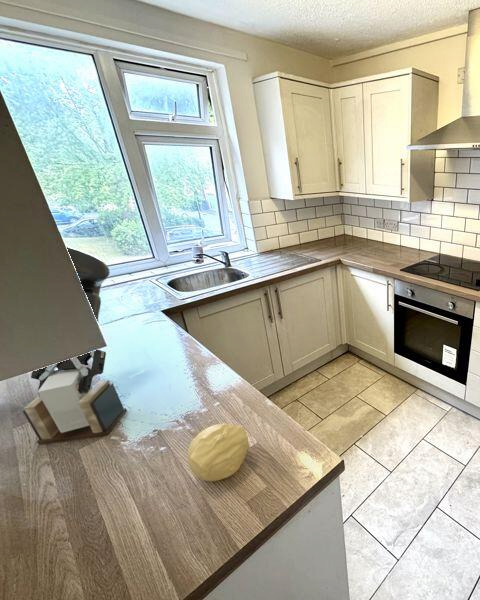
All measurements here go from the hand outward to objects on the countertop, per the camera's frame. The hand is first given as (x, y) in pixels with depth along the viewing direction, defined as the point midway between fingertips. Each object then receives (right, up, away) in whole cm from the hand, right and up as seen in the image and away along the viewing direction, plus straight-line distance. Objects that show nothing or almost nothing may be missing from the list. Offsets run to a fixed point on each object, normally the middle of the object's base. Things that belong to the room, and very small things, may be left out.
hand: (63, 394), depth 80 cm
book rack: (0, -10, +6) cm, 12 cm away
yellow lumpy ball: (+42, -15, -5) cm, 45 cm away
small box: (0, -8, +5) cm, 9 cm away
